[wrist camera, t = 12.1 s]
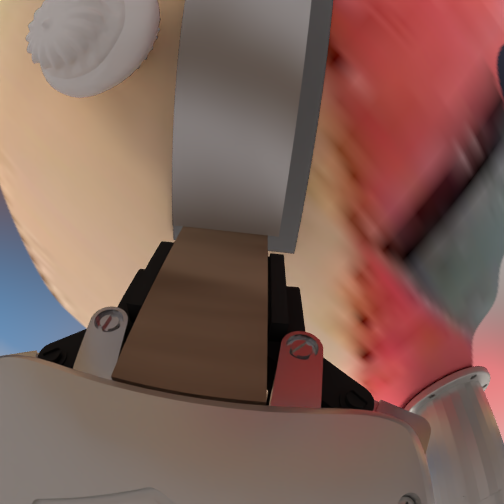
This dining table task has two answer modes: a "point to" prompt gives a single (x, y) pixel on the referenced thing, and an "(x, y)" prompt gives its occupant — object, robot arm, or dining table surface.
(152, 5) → the muffin
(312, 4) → the mat
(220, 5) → the turner
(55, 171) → the dining table surface
